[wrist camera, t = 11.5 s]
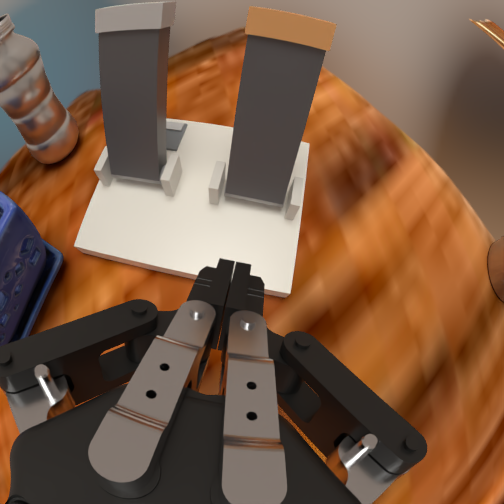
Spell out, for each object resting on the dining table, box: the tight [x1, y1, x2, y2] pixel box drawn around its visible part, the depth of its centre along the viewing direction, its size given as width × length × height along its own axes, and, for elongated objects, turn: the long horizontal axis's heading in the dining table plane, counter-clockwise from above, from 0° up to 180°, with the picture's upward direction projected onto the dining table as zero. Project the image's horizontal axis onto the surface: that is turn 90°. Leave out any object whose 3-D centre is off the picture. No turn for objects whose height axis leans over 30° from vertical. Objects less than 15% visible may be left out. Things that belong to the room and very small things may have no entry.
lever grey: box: [95, 2, 176, 185], centre depth 20 cm, size 2×5×16 cm, turn 80°
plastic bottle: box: [0, 14, 79, 164], centre depth 20 cm, size 6×7×20 cm
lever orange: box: [224, 6, 336, 208], centre depth 20 cm, size 2×5×16 cm, turn 80°
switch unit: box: [74, 118, 309, 298], centre depth 26 cm, size 16×20×5 cm
